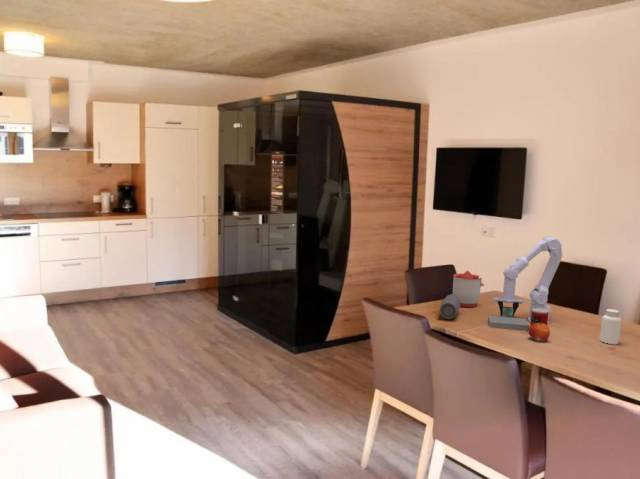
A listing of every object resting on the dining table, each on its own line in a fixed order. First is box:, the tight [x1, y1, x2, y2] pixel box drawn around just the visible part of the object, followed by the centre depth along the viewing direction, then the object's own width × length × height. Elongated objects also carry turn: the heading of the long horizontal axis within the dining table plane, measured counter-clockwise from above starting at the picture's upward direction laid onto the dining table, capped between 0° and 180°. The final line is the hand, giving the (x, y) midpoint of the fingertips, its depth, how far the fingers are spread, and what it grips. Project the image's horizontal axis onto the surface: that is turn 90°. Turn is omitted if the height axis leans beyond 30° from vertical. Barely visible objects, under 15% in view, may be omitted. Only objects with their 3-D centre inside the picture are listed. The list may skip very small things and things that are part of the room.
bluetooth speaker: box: [439, 293, 461, 320], centre depth 294 cm, size 23×9×10 cm, turn 161°
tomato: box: [528, 323, 551, 342], centre depth 257 cm, size 9×9×8 cm
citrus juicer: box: [452, 270, 485, 308], centre depth 319 cm, size 16×17×20 cm
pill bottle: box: [599, 308, 623, 345], centre depth 257 cm, size 8×8×15 cm
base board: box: [487, 315, 530, 332], centre depth 280 cm, size 18×13×2 cm
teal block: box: [500, 305, 514, 318], centre depth 292 cm, size 5×5×6 cm
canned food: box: [529, 308, 549, 327], centre depth 269 cm, size 8×8×11 cm
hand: (507, 316), depth 293 cm, fingers closed on teal block, 5 cm apart
